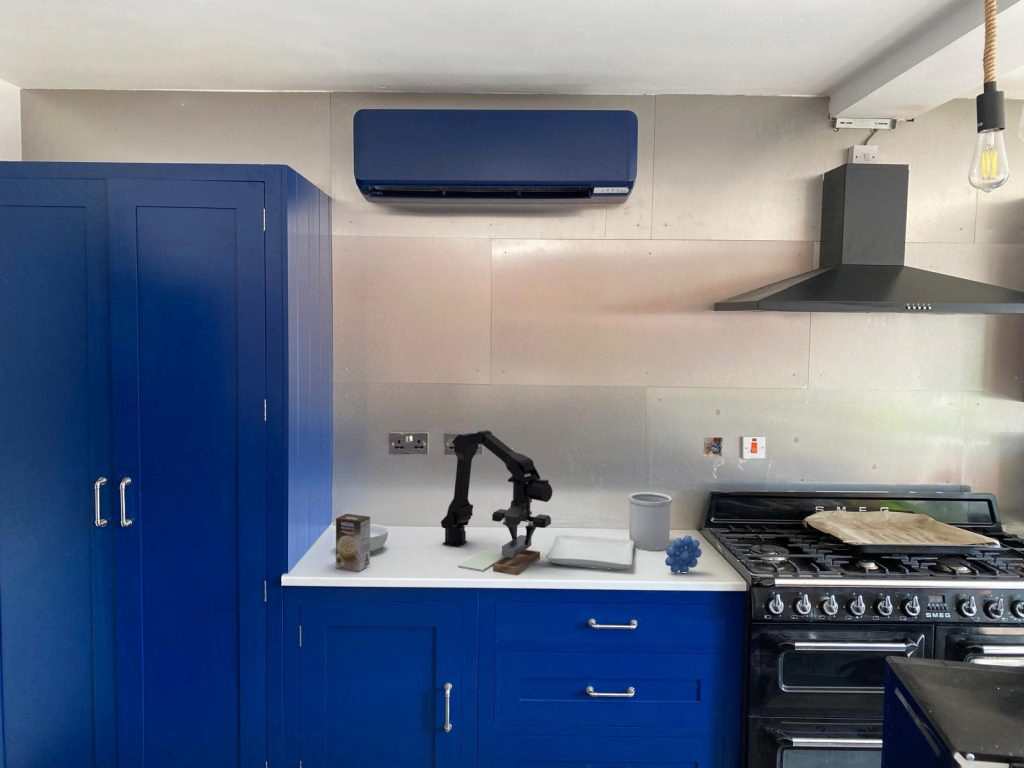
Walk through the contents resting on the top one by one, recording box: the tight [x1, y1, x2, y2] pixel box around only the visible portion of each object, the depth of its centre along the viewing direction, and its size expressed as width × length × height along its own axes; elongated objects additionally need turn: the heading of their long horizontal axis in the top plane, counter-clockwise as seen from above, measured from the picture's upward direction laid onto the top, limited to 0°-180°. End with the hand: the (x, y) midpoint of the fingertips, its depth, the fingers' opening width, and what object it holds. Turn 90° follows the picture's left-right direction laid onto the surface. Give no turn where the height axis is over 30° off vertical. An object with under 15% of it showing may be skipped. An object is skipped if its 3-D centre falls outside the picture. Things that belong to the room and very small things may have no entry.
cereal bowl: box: [370, 523, 389, 552], centre depth 226 cm, size 17×17×7 cm
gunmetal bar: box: [501, 534, 532, 558], centre depth 213 cm, size 4×14×3 cm, turn 155°
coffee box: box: [335, 513, 371, 572], centre depth 209 cm, size 9×6×16 cm
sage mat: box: [457, 549, 505, 572], centre depth 216 cm, size 9×18×1 cm, turn 155°
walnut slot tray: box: [492, 549, 541, 576], centre depth 213 cm, size 8×18×2 cm, turn 155°
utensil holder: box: [628, 491, 673, 552], centre depth 235 cm, size 15×15×18 cm
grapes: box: [664, 535, 702, 573], centre depth 207 cm, size 12×7×12 cm, turn 96°
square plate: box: [545, 534, 634, 570], centre depth 221 cm, size 27×27×4 cm
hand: (521, 544), depth 216 cm, fingers closed on gunmetal bar, 4 cm apart
